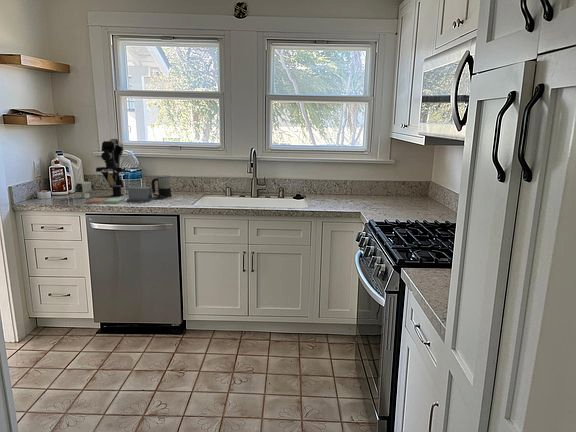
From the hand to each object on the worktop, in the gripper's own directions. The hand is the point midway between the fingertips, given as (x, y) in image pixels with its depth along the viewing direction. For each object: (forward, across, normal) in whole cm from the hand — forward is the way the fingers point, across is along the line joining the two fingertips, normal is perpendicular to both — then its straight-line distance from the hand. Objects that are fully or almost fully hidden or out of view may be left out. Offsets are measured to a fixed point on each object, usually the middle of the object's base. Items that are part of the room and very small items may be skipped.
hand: (111, 181), depth 299 cm
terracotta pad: (+12, +6, +11) cm, 17 cm away
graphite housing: (+12, -21, +2) cm, 25 cm away
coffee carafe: (+12, -32, -12) cm, 36 cm away
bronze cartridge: (+2, 0, 0) cm, 2 cm away
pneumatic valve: (+12, +22, -1) cm, 25 cm away
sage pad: (+12, -6, +11) cm, 17 cm away
